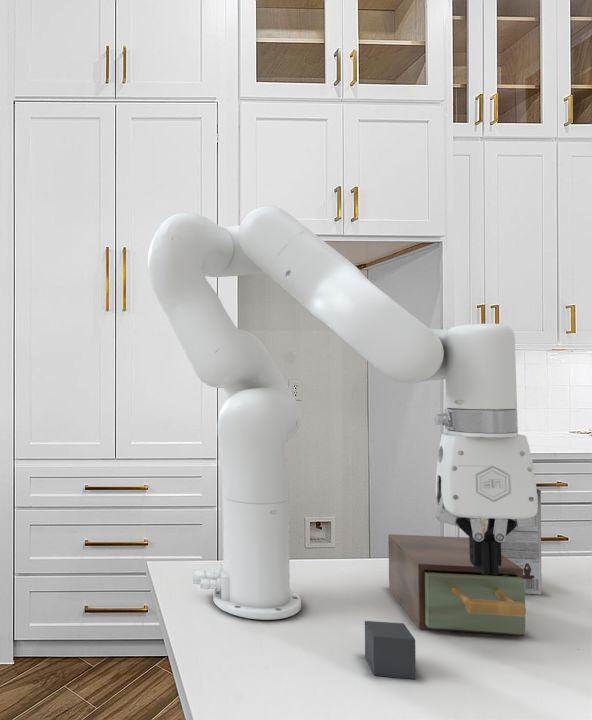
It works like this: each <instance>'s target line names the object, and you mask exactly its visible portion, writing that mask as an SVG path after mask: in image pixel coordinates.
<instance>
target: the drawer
mask: <svg viewBox="0 0 592 720" xmlns="http://www.w3.org/2000/svg"><path fill="white" fill-rule="evenodd" d="M526 615H527V609H526V594H525V580H523V579H522V578H520V577H509V574H498V575H492V574H488V575H483V574H482V573H474V572H454V571H434V570H425V624H426V625H427V627H428V628H439V629H455V630H470V631H485V632H500V633H515V634H524V635H526V632H527V631H526Z"/></svg>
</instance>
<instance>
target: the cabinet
mask: <svg viewBox="0 0 592 720" xmlns="http://www.w3.org/2000/svg"><path fill="white" fill-rule="evenodd" d="M387 536H388V590H389V591H390V593H391V594H392V595H393V597H394V598H395V599H396V600H397V602H398V603H399V604H400V605H401V607H402V608H403V610H404V611H405V612H406V613H407V615H408V616H409V617H410V619H411V620H412V622H413V623H414V624H415V625H416V627H417V628H418V629H419V630H431V631H446V632H459V633H460V632H462V633H474V634H475V633H477V634H491V635H504V636H505V635H507V636H519V637H520V636H521V637H522V636H523V637H524V636H525V634H515V633H500V632H485V631H470V630H455V629H439V628H428V627H427V625H426V624H425V570H434V571H454V572H474V573H480V572H479V571H478V570H477V569H475V568H474V565H472V564H471V562H470V549H469V537H463V536H442V535H441V536H440V535H439V536H438V535H419V534H418V535H416V534H392V533H391V534H388V535H387ZM498 574H509V577H520V578H522V579H523V569H522V568H521V567H519V566H518V565H516V564H515V563H513V562H512V561H510V560H509V559H507V558H506V557H504V556H503V555H501V566H498Z"/></svg>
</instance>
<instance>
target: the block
mask: <svg viewBox="0 0 592 720" xmlns="http://www.w3.org/2000/svg"><path fill="white" fill-rule="evenodd" d="M416 651H417V650H416V638H415V637H414V635H412V633H411V632H410V630H409V629H408V627H407V626H406V624H405V623H403V622H389V621H388V622H387V621H374V620H373V621H372V620H364V658H365V660H366V662H367V664H368V666H369V668H370V671H371V673H372V674H373V676H375V677H387V678H398V679H408V680H409V679H410V680H416V678H417V663H416V662H417V661H416V660H417V659H416V656H417V655H416Z"/></svg>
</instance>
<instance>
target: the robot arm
mask: <svg viewBox="0 0 592 720" xmlns="http://www.w3.org/2000/svg"><path fill="white" fill-rule="evenodd" d="M147 271H148V275H149V281H150V284H151V287H152V290H153V292H154V294H155V297H156V299H157V301H158V302H159V305H160V307H161V308H162V310H163V312H164V315H165V316H166V317H167V320H168V321H169V323H170V326H171V327H172V329H173V332H174V334H175V336H176V338H177V340H178V341H179V344H180V345H181V348H182V349H183V351H184V353H185V355H186V357H187V359H188V360H189V363H190V364H191V365H190V366H191V367H192V369H193V370H194V373H195V374H196V376H197V378H198V379H199V380H200V381H201V382H202V383H204V384H205V385H206V386H209V387H211V388H216V389H223V390H224V391H225V394H226V395H227V397H228V398H227V399H226V401H225V402H224V404H223V405H222V407H221V409H220V411H219V414H218V418H217V439H218V446H219V453H220V460H221V479H222V480H221V482H222V485H221V487H222V488H221V489H222V555H223V556H222V560H223V561H222V563H223V564H221V565H220V569H214V572H212V571H205V570H193V573H192V575H193V576H192V577H193V578H192V582H193V585H200V589H201V590H202V589H203V590H211V589H212V590H213V593H212V600H213V603H214V605H215V606H216V607H217V608H219V609H220V610H222V611H223V612H225V613H228V614H230V615H233V616H235V617H241V618H245V619H252V620H259V621H264V620H265V621H270V620H271V621H273V620H281V619H282V620H283V619H288V618H289V617H293V616H295V615H297V614H298V613H299V612H300V611H301V610H302V598H301V596H300V595H299V594H298V593H297V592H295V591H294V590H293V589H290V588H291V586H290V585H291V581H290V576H291V575H290V571H291V570H290V569H291V568H290V498H289V496H290V494H289V489H290V488H289V485H290V484H289V470H288V460H287V451H286V443H288V442H289V441H291V440H292V438H294V437H295V435H296V434H297V432H298V430H299V428H300V424H301V411H300V407H299V404H298V402H297V400H296V398H295V396H294V394H293V393H292V391H291V389H290V387H289V385H288V384H287V382H286V380H285V378H284V377H283V375H282V373H281V371H280V369H279V368H278V366H277V365H276V363H275V361H274V359H273V358H272V356H271V354H270V352H269V351H268V349H267V348H266V347H265V344H263V342H262V341H261V340H260V339H259V338H258V337H257V336H256V335H254V334H253V333H251V332H249V331H247V330H244V329H239V328H238V327H237V325H235V324H234V321H233V320H232V318H231V317H230V315H229V314H228V313H227V312H228V311H227V310H226V309H225V307H224V305H223V302H222V301H221V298H220V297H219V295H218V293H217V291H215V290H214V288H213V286H212V285H211V284H210V282H209V281H208V279H207V278H226V277H227V278H228V277H240V276H241V277H242V276H254V275H255V276H257V275H267V276H268V277H269V278H271V280H273V281H274V282H275V283H277V284H278V285H279V286H280V287H281V288H283V289H284V291H286V292H287V293H288V294H290V296H291V297H292V298H293V299H294V300H296V301H297V302H298V303H299V304H301V305H302V306H303V307H304V308H305V309H306V310H307V311H309V312H310V314H312V315H313V317H315V318H316V319H318V320H320V321H321V322H323V323H324V324H325V325H326V326H328V327H329V329H331V330H332V331H333V332H334V333H335V334H336V335H338V337H340V338H341V339H342V340H343V341H344V342H345V343H347V344H348V345H349V346H350V347H351V348H352V349H353V350H354V351H356V352H357V353H358V354H360V355H361V356H362V357H363V358H364V359H365V360H367V362H368V363H370V364H371V365H372V366H373V367H374V368H375V369H377V370H378V371H379V372H380V373H382V375H384V376H386V378H388V379H390V380H392V381H394V382H397V383H400V384H406V385H407V384H408V385H410V384H418V383H423V382H429V381H431V382H432V381H438V380H445V400H446V401H445V404H446V405H445V407H446V408H444V412H442V413H435V414H434V423H435V425H441V426H442V427H443V426H444V428H445V430H446V432H442V433H441V436H440V439H439V440H440V441H439V447H438V453H437V459H436V472H435V501H436V503H437V509H436V513H435V518H436V519H437V520H438V521H439V522H441V523H444V524H447V525H451V526H455V527H458V528H459V529H460V530H461V531H463V532H464V533H465V535H466V536H468V538H469V549H470V562H471V564H472V565H474V568H475V569H477V570H478V571H479V572H480V573H482V574H483V575H488V574H492V575H498V566H501V542H503V541H504V540H505V538H506V536H507V535H508V534H509V533H510V532H511V531H512V530H513V529H514V528H516V527H523V526H528V525H532V524H533V523H534V518H533V516H534V515H536V513H537V509H538V500H537V489H538V488H537V481H536V475H535V467H534V463H533V458H532V452H531V449H530V446H529V441H528V438H527V435H525V434H519V426H518V425H519V423H518V401H517V399H518V396H517V368H516V366H517V365H516V363H517V362H516V361H517V360H516V338H515V333H514V331H513V329H512V328H511V327H510V326H508V325H507V324H503V323H472V324H471V323H469V324H460V325H455V326H453V327H449V329H447V328H446V329H445V328H444V329H441V328H429V326H427V325H426V324H425V323H423V322H422V321H421V320H419V319H418V318H417V317H415V316H414V315H413V314H411V312H409V311H408V310H407V309H405V308H404V307H403V306H402V305H400V304H399V303H398V302H396V301H395V300H394V299H393V298H392V297H390V296H389V295H388V294H386V293H385V292H384V291H383V290H381V289H380V288H379V287H377V286H376V285H375V284H374V283H372V281H371V280H369V278H367V277H366V276H365V275H364V274H363V272H362V271H361V270H360V269H359V268H358V267H357V266H356V265H354V263H352V262H351V260H349V259H348V258H346V257H345V256H344V255H342V254H341V253H340V252H338V250H336V249H335V248H334V247H332V246H331V245H330V244H328V243H327V242H325V240H323V239H321V237H319V236H318V235H317V234H315V233H314V232H313V231H312V230H310V229H309V228H308V227H307V226H305V225H304V223H302V222H300V221H299V220H298V219H296V217H294V216H293V215H292V214H290V213H289V212H288V211H286V210H284V209H282V208H281V207H277V206H273V205H264V206H259V207H257V208H255V209H253V210H252V211H251V212H249V213H247V215H246V216H245V217H244V218H243V220H242V221H241V223H240V224H239V225H230V226H229V225H228V226H221V225H219V224H218V223H216V222H214V221H212V220H211V219H209V218H207V217H206V216H204V215H201V214H199V213H195V212H194V213H193V212H186V211H185V212H179V213H175V214H173V215H171V216H169V217H168V218H166V219H165V220H163V222H162V223H161V225H160V226H159V227H158V228H157V230H156V231H155V233H154V235H153V237H152V240H151V242H150V245H149V250H148V257H147ZM206 277H207V278H206ZM481 518H487V520H486V528H485V533H483V528H482V523H481Z"/></svg>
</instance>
